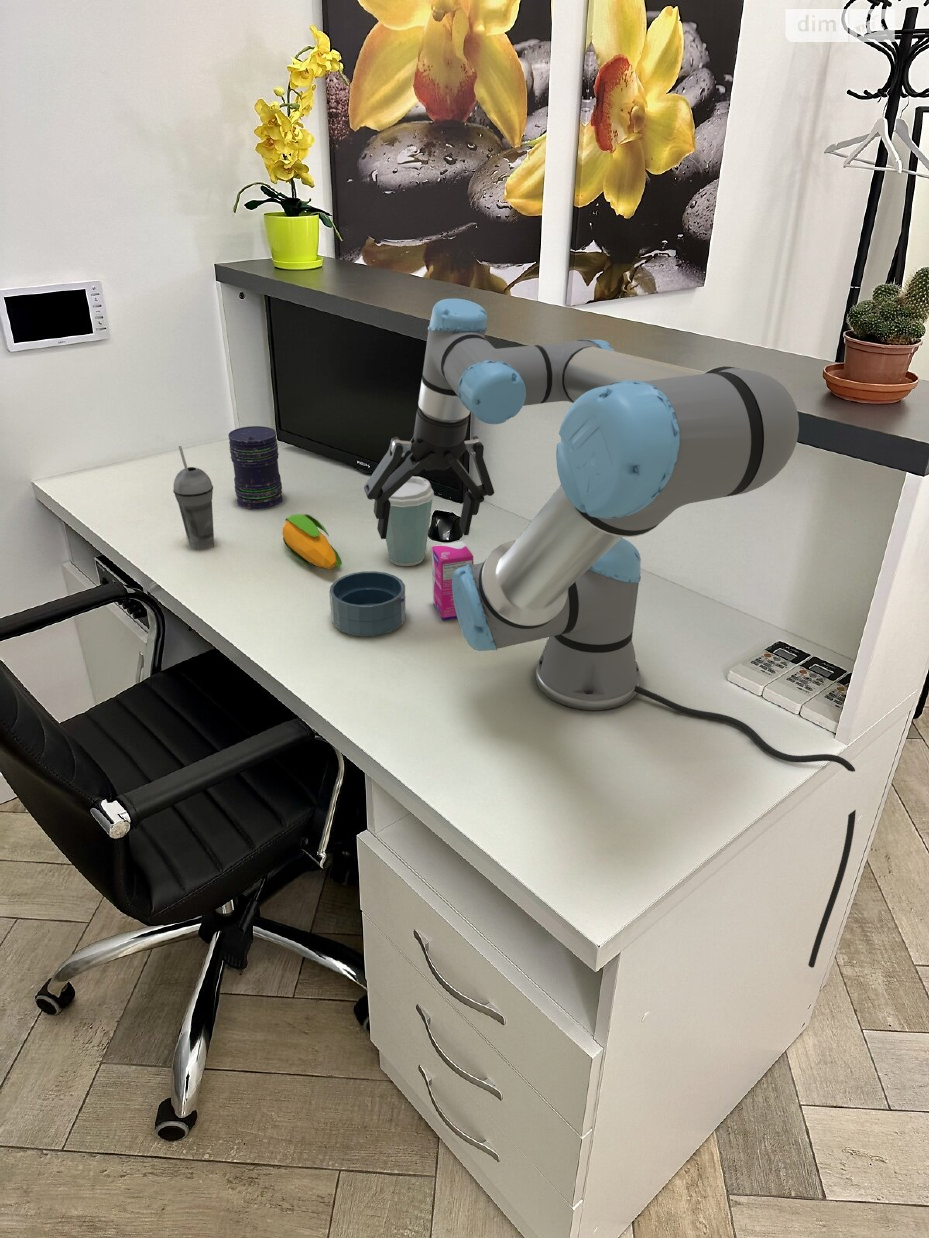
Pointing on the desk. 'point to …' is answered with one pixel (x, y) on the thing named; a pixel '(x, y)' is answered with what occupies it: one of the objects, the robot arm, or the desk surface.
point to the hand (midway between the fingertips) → (423, 532)
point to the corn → (309, 541)
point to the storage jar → (256, 467)
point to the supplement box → (447, 575)
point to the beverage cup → (195, 505)
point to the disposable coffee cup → (409, 522)
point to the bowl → (368, 603)
